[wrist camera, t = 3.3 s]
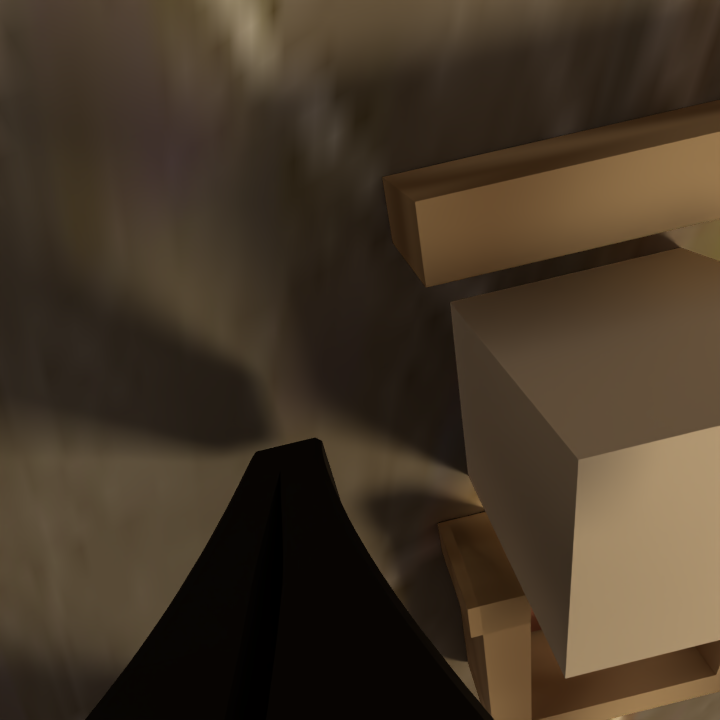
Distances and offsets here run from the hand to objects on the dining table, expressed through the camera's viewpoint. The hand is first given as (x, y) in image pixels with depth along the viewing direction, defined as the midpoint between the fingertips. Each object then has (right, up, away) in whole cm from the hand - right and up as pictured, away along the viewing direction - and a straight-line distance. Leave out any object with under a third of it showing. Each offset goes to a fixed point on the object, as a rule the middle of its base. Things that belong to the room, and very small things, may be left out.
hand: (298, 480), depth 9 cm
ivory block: (+6, +2, +1) cm, 7 cm away
